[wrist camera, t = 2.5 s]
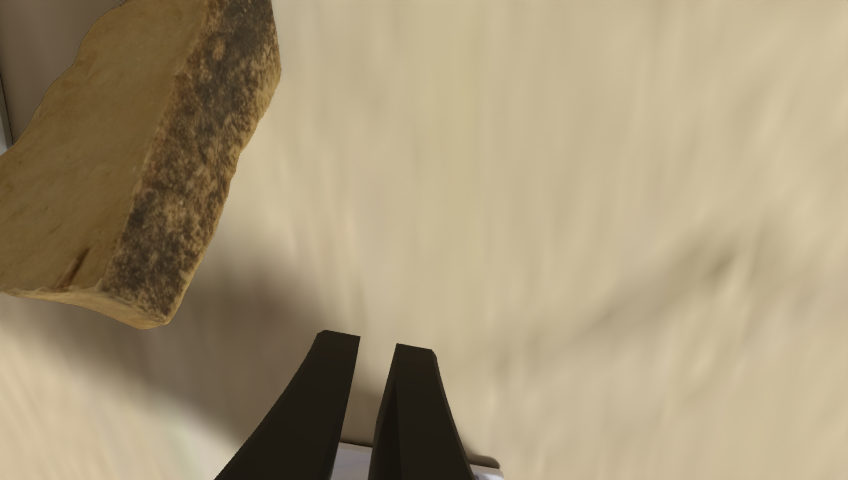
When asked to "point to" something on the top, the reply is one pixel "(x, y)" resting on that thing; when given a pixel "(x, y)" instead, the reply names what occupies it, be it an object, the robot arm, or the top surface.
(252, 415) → the top surface
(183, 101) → the rock
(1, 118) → the mat
